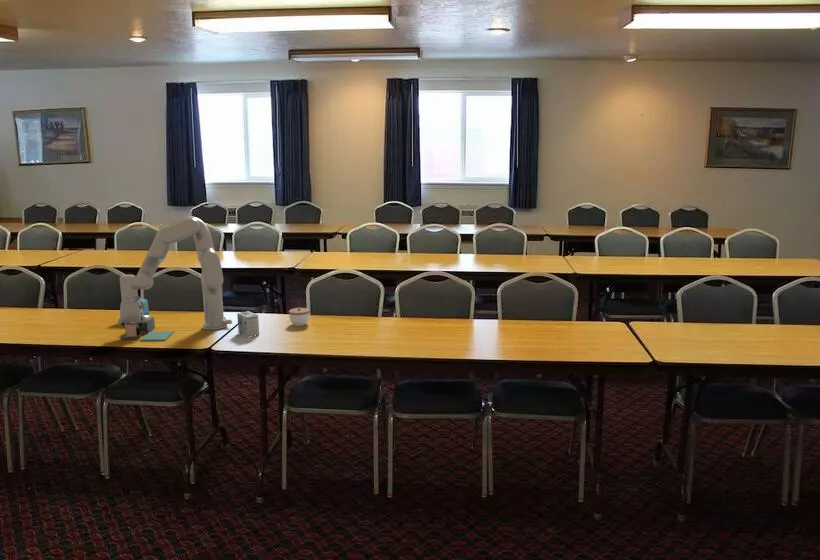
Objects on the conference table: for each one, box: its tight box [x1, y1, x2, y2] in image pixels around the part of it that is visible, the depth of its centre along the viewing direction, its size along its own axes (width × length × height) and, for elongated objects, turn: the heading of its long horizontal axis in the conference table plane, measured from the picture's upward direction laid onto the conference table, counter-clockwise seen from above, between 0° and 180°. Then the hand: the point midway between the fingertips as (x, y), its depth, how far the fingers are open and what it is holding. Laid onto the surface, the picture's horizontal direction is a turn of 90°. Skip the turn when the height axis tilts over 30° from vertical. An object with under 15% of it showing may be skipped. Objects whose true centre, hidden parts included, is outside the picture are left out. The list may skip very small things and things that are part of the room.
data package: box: [139, 298, 150, 316], centre depth 357 cm, size 12×4×12 cm, turn 79°
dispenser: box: [120, 315, 156, 341], centre depth 334 cm, size 10×20×8 cm, turn 1°
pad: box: [139, 330, 175, 342], centre depth 329 cm, size 12×14×1 cm
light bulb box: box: [236, 310, 260, 338], centre depth 331 cm, size 11×7×11 cm, turn 40°
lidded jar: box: [288, 306, 310, 327], centre depth 348 cm, size 11×11×9 cm
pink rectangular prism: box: [125, 322, 141, 337], centre depth 329 cm, size 4×7×7 cm, turn 1°
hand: (133, 334), depth 329 cm, fingers closed on pink rectangular prism, 4 cm apart
